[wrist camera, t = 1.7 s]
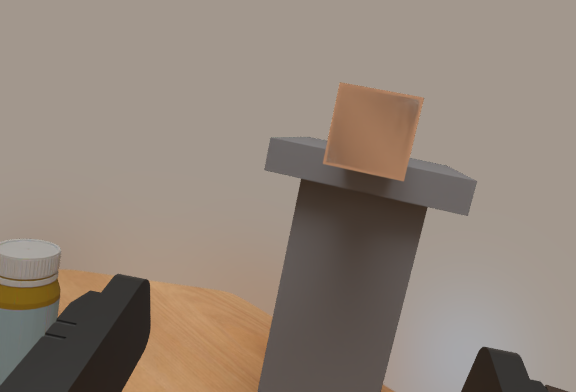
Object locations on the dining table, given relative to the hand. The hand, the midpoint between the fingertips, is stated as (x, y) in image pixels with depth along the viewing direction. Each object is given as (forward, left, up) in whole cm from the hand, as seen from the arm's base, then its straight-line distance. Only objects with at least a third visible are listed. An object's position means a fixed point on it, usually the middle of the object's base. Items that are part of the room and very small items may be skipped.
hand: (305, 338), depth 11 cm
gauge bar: (-8, +18, +4) cm, 20 cm away
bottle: (-42, +14, -29) cm, 53 cm away
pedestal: (-10, +22, -28) cm, 37 cm away
